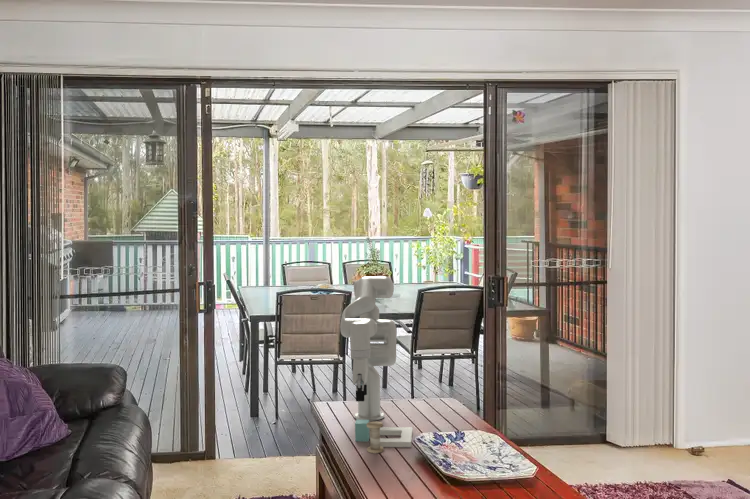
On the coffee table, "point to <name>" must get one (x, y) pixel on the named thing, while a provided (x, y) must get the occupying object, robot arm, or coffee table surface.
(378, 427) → the bobbin
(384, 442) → the notched board
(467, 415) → the coffee table surface
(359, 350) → the robot arm
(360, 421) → the block
